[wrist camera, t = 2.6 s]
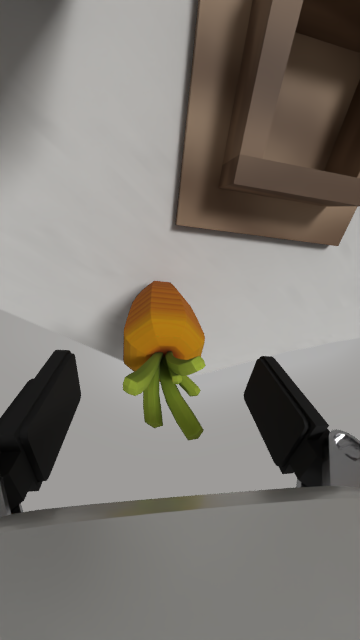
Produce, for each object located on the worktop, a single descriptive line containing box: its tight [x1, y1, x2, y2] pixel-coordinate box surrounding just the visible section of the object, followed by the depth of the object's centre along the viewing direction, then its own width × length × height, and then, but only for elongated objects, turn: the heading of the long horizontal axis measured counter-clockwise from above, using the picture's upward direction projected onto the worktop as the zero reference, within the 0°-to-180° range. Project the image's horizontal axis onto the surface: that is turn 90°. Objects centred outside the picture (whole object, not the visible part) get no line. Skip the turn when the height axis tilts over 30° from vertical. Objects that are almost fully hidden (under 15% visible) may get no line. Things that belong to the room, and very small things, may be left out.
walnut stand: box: [176, 0, 360, 246], centre depth 13 cm, size 16×16×4 cm
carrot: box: [123, 281, 205, 440], centre depth 14 cm, size 5×5×15 cm
